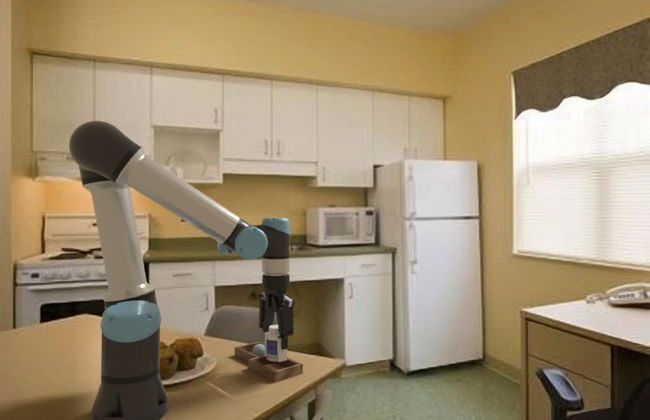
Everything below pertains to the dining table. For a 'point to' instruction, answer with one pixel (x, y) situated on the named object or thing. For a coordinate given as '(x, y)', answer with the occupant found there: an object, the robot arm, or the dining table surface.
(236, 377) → the dining table surface
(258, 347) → the ball
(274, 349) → the pill bottle
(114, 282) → the robot arm
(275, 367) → the cradle
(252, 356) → the cradle
